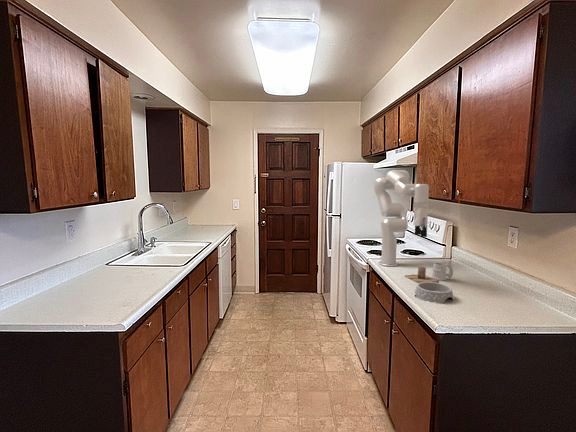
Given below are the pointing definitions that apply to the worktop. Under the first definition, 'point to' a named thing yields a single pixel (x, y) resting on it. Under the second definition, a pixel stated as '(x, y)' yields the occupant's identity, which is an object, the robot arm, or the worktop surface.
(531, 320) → the worktop surface
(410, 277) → the walnut lid
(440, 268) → the mug
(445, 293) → the dog bowl
